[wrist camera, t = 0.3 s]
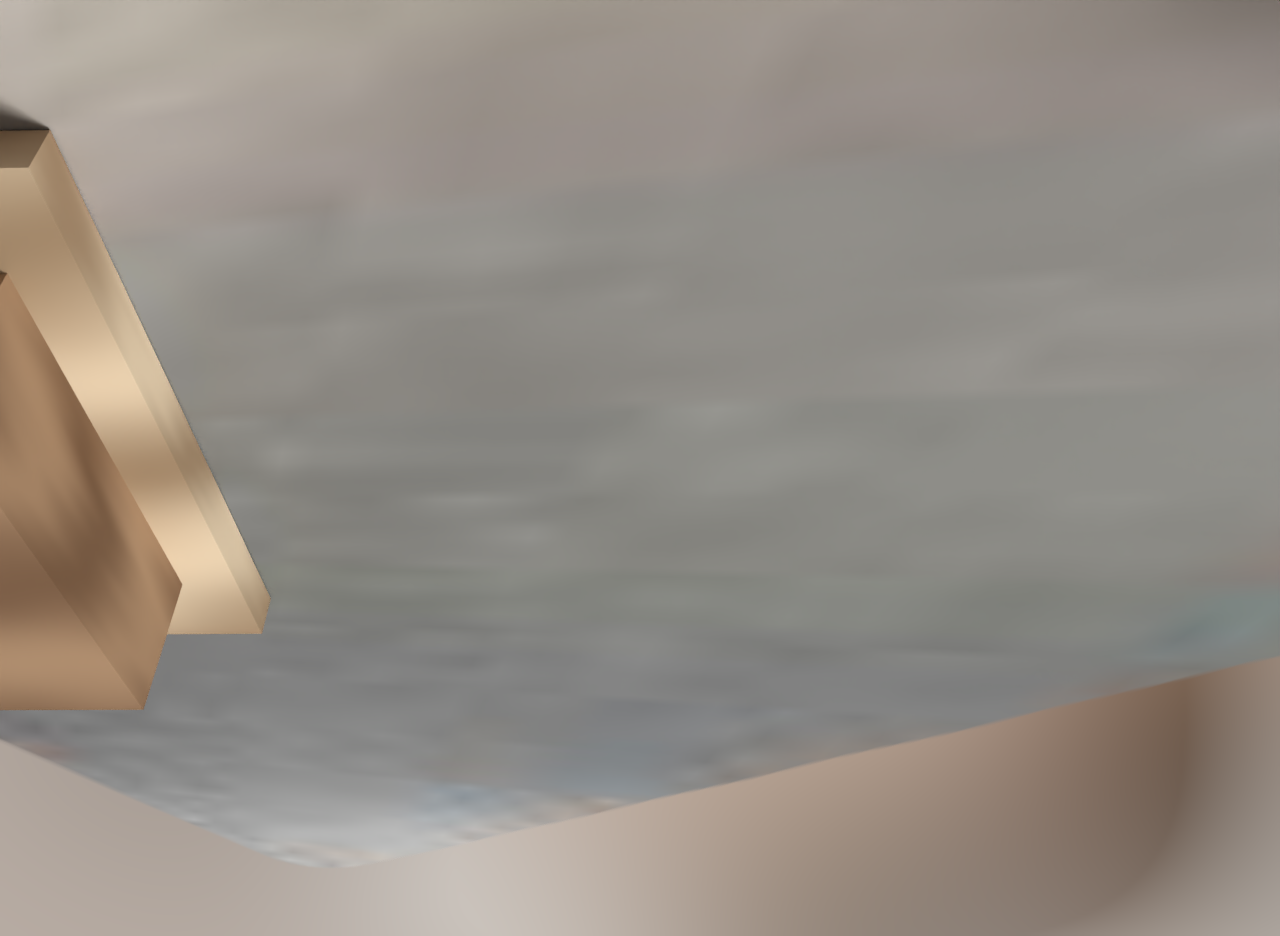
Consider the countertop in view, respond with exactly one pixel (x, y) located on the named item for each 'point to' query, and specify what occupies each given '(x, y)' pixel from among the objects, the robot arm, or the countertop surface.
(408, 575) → the countertop surface
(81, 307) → the base board
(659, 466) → the countertop surface
